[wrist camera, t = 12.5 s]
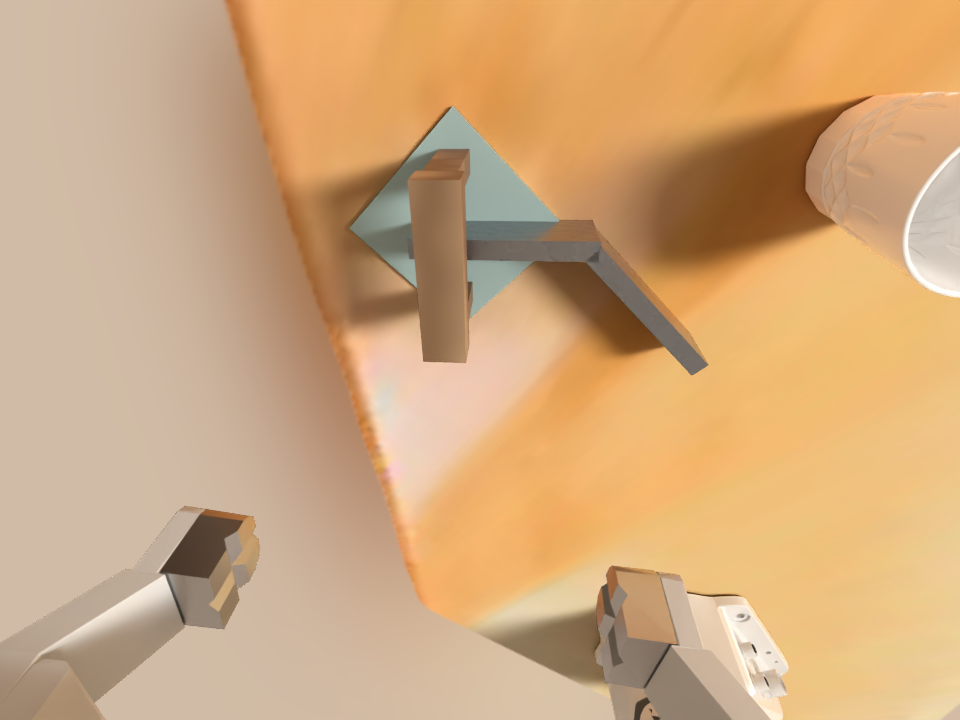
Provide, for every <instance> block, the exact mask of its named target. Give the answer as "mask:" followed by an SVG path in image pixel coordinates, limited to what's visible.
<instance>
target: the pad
mask: <svg viewBox="0 0 960 720" xmlns="http://www.w3.org/2000/svg"><path fill="white" fill-rule="evenodd" d="M439 149H470V176H469V178H468V181H467V183H466V185H465V205H466V221H549V222H559V220H558V219H557V217H556V216H555V215H554V214H553V213H552V212H551V211H550V210H549V209H548V208H547V207H546V206H545V205H544V203H543V202H542V201H541V200H540V199H539V198H538V197H537V196H536V195H535V194H534V193H533V192H532V191H531V189H530V188H529V187H528V186H527V185H526V184H525V183H524V182H523V181H522V180H521V179H520V178H519V176H518V175H517V174H516V173H515V172H514V171H513V170H512V169H511V168H510V167H509V166H508V165H507V164H506V162H505V161H504V160H503V159H502V158H501V157H500V156H499V155H498V154H497V153H496V152H495V151H494V150H493V148H492V147H491V146H490V145H489V144H488V143H487V142H486V141H485V140H484V139H483V138H482V137H481V135H480V134H479V133H478V132H477V131H476V130H475V129H474V128H473V127H472V126H471V125H470V124H469V123H468V121H467V120H466V119H465V118H464V117H463V116H462V115H461V114H460V113H459V112H458V111H457V110H456V109H455V107H454V106H452V107H451V109H450V110H449V111H448V112H447V113H446V115H445V116H444V117H443V118H442V119H441V120H440V122H439V123H438V124H437V125H436V126H435V128H434V129H433V130H432V131H431V132H430V133H429V135H428V136H427V137H426V138H425V139H424V141H423V142H422V143H421V144H420V145H419V146H418V148H417V149H416V150H415V151H414V152H413V154H412V155H411V156H410V157H409V158H408V159H407V161H406V162H405V163H404V164H403V165H402V167H401V168H400V169H399V170H398V171H397V172H396V174H395V175H394V176H393V177H392V178H391V180H390V181H389V182H388V183H387V184H386V185H385V187H384V188H383V189H382V190H381V191H380V193H379V194H378V195H377V196H376V197H375V198H374V200H373V201H372V202H371V203H370V204H369V206H368V207H367V208H366V209H365V210H364V211H363V213H362V214H361V215H360V216H359V217H358V219H357V220H356V221H355V222H354V223H353V225H352V226H351V227H350V228H349V229H350V230H351V231H353V232H354V233H355V234H356V235H357V236H358V237H359V238H361V239H362V240H363V241H364V242H365V243H366V244H367V245H368V246H370V247H371V248H372V249H373V250H374V251H375V252H376V253H378V254H379V255H380V256H381V257H382V258H383V259H384V260H385V261H387V262H388V263H389V264H390V265H391V266H392V267H393V268H395V269H396V270H397V271H398V272H399V273H400V274H401V275H403V276H404V277H405V278H406V279H407V280H408V281H409V282H410V283H412V284H413V285H414V286H415V287H416V288H417V283H416V271H415V260H414V259H409V255H408V244H407V239H408V237H409V235H410V234H411V232H412V225H411V214H410V203H409V191H408V179H409V178H410V177H411V175H412V174H413V173H414V172H415V171H422V170H423V168H424V167H425V166H426V165H427V164H428V162H429V161H430V160H431V159H432V157H433V156H434V155H435V154H436V152H437V151H438V150H439ZM533 262H534V261H493V260H467V279H468V282H473V303H472V308H471V313H470V318H471V317H472V316H473V315H474V314H475V313H476V312H478V311H479V310H480V309H481V308H482V307H483V306H484V305H486V304H487V303H488V302H489V301H490V300H491V299H492V298H493V297H495V296H496V295H497V294H498V293H499V292H500V291H501V290H502V289H504V288H505V287H506V286H507V285H508V284H509V283H510V282H511V281H513V280H514V279H515V278H516V277H517V276H518V275H519V274H520V273H522V272H523V271H524V270H525V269H526V268H527V267H528V266H529V265H531V264H532V263H533ZM470 318H469V319H470Z"/></svg>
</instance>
